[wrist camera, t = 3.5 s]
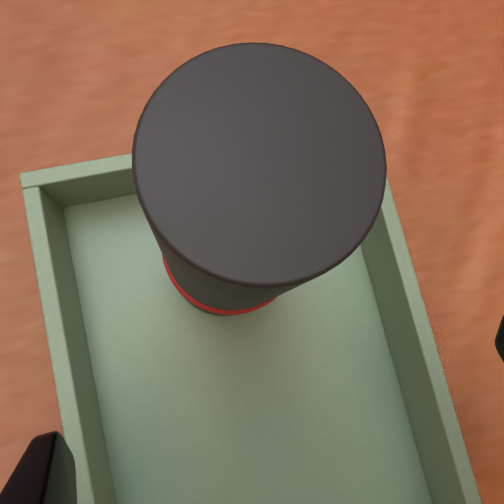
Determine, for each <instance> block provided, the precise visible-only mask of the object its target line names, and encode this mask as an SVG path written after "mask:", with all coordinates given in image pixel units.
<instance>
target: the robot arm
mask: <svg viewBox="0 0 504 504" xmlns="http://www.w3.org/2000/svg"><path fill="white" fill-rule="evenodd" d="M495 346H496V349H497V351H498V353H499V355H500V357H501V358H502V360H503V362H504V316H503V317H502V320H501V323H500V326H499V329H498V332H497V335H496V338H495ZM0 504H77V485H76V466H75V460H74V456H73V454H72V452H71V450H70V449H69V447H68V445H67V443H66V442H65V440H64V438H63V437H62V435H61V434H60V432H58V431H53V432H49V433H45V434H42V435H38V436H36V437H35V438H34V439H33V440H32V441H31V442H30V444H29V446H28V447H27V449H26V451H25V453H24V454H23V456H22V458H21V459H20V461H19V463H18V465H17V466H16V468H15V470H14V471H13V473H12V475H11V476H10V478H9V480H8V482H7V483H6V485H5V487H4V488H3V490H2V492H1V494H0Z"/></svg>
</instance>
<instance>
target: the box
mask: <svg viewBox="0 0 504 504" xmlns="http://www.w3.org/2000/svg"><path fill="white" fill-rule="evenodd" d="M19 177H20V183H21V188H22V189H23V190H22V194H23V200H24V206H25V212H26V218H27V224H28V229H29V235H30V241H31V247H32V253H33V259H34V264H35V270H36V276H37V282H38V288H39V294H40V299H41V305H42V311H43V317H44V323H45V329H46V334H47V340H48V346H49V352H50V358H51V364H52V369H53V375H54V381H55V387H56V393H57V399H58V404H59V410H60V416H61V422H62V428H63V433H64V439H65V442H66V443H67V445H68V447H69V449H70V450H71V452H72V454H73V456H74V460H75V466H76V485H77V504H482V502H481V498H480V495H479V491H478V488H477V485H476V481H475V478H474V474H473V471H472V467H471V464H470V461H469V457H468V454H467V450H466V447H465V443H464V440H463V436H462V433H461V430H460V426H459V423H458V419H457V416H456V412H455V409H454V406H453V402H452V399H451V395H450V392H449V388H448V385H447V382H446V378H445V375H444V371H443V368H442V364H441V361H440V357H439V354H438V351H437V347H436V344H435V340H434V337H433V333H432V330H431V327H430V323H429V320H428V316H427V313H426V309H425V306H424V303H423V299H422V296H421V292H420V289H419V285H418V282H417V278H416V275H415V272H414V268H413V265H412V261H411V258H410V254H409V251H408V248H407V244H406V241H405V237H404V234H403V230H402V227H401V223H400V220H399V217H398V213H397V210H396V206H395V203H394V199H393V196H392V193H391V189H390V186H389V182H388V179H387V175H386V187H385V192H384V198H383V202H382V205H381V208H380V211H379V214H378V216H377V218H376V220H375V222H374V225H373V227H372V229H371V230H370V232H369V233H368V235H367V236H366V238H365V239H364V241H363V242H362V243H361V244H360V245H359V247H358V248H357V249H356V250H355V251H354V252H353V253H352V254H351V255H350V256H349V257H348V258H347V259H345V260H344V261H343V262H342V263H341V264H339V265H338V266H336V267H335V268H333V269H332V270H330V271H328V272H327V273H325V274H323V275H321V276H319V277H317V278H315V279H313V280H310V281H308V282H306V283H304V284H302V285H300V286H298V287H296V288H294V289H292V290H290V291H287V292H285V293H283V294H281V295H279V296H278V297H277V298H275V299H274V300H273V301H272V302H270V303H268V304H267V305H265V306H263V307H261V308H259V309H257V310H254V311H251V312H248V313H244V314H238V315H231V316H218V315H212V314H208V313H206V312H203V311H201V310H199V309H197V308H196V307H194V306H193V305H191V304H190V303H189V302H188V301H187V300H186V299H185V298H184V297H183V295H182V294H181V293H180V292H179V291H178V290H177V288H176V287H175V286H174V284H173V283H172V281H171V279H170V278H169V276H168V273H167V271H166V269H165V266H164V262H163V258H162V252H161V250H160V248H159V246H158V243H157V241H156V239H155V237H154V234H153V232H152V230H151V228H150V225H149V223H148V221H147V219H146V216H145V214H144V212H143V210H142V207H141V205H140V203H139V200H138V197H137V193H136V190H135V186H134V180H133V173H132V153H130V154H124V155H119V156H113V157H108V158H102V159H96V160H91V161H85V162H80V163H74V164H68V165H63V166H57V167H52V168H46V169H41V170H35V171H29V172H24V173H20V174H19Z"/></svg>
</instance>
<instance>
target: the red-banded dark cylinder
mask: <svg viewBox="0 0 504 504" xmlns="http://www.w3.org/2000/svg"><path fill="white" fill-rule="evenodd" d="M386 170H387V166H386V156H385V149H384V144H383V140H382V136H381V133H380V130H379V128H378V125H377V122H376V120H375V118H374V116H373V114H372V112H371V110H370V108H369V107H368V105H367V104H366V102H365V101H364V99H363V98H362V96H361V95H360V94H359V93H358V92H357V90H356V89H355V88H354V87H353V86H352V85H351V83H350V82H348V81H347V80H346V79H345V78H344V77H343V76H342V75H341V74H340V73H338V72H337V71H336V70H334V69H333V68H331V67H330V66H329V65H327V64H326V63H324V62H322V61H320V60H319V59H317V58H315V57H313V56H311V55H309V54H306V53H304V52H301V51H299V50H296V49H293V48H289V47H285V46H282V45H275V44H269V43H239V44H232V45H227V46H222V47H218V48H215V49H212V50H210V51H207V52H204V53H202V54H200V55H198V56H196V57H194V58H192V59H190V60H188V61H187V62H186V63H184V64H183V65H181V66H180V67H178V68H177V69H176V70H174V71H173V72H172V73H171V74H170V75H169V76H168V77H167V78H166V79H165V80H164V81H163V82H162V83H161V84H160V85H159V87H158V88H157V89H156V90H155V91H154V93H153V94H152V96H151V97H150V99H149V100H148V102H147V104H146V105H145V107H144V110H143V112H142V114H141V116H140V118H139V121H138V124H137V128H136V131H135V134H134V140H133V147H132V173H133V180H134V186H135V190H136V193H137V197H138V200H139V203H140V205H141V207H142V210H143V212H144V214H145V216H146V219H147V221H148V223H149V225H150V228H151V230H152V232H153V234H154V237H155V239H156V241H157V243H158V246H159V248H160V250H161V252H162V258H163V262H164V266H165V269H166V271H167V273H168V276H169V278H170V279H171V281H172V283H173V284H174V286H175V287H176V288H177V290H178V291H179V292H180V293H181V294H182V295H183V297H184V298H185V299H186V300H187V301H188V302H189V303H190V304H191V305H193V306H194V307H196V308H197V309H199V310H201V311H203V312H206V313H208V314H212V315H218V316H231V315H238V314H244V313H248V312H251V311H254V310H257V309H259V308H261V307H263V306H265V305H267V304H268V303H270V302H272V301H273V300H274V299H275V298H277V297H278V296H279V295H281V294H283V293H285V292H287V291H290V290H292V289H294V288H296V287H298V286H300V285H302V284H304V283H306V282H308V281H310V280H313V279H315V278H317V277H319V276H321V275H323V274H325V273H327V272H328V271H330V270H332V269H333V268H335V267H336V266H338V265H339V264H341V263H342V262H343V261H344V260H345V259H347V258H348V257H349V256H350V255H351V254H352V253H353V252H354V251H355V250H356V249H357V248H358V247H359V245H360V244H361V243H362V242H363V241H364V239H365V238H366V236H367V235H368V233H369V232H370V230H371V229H372V227H373V225H374V222H375V220H376V218H377V216H378V214H379V211H380V208H381V205H382V202H383V198H384V192H385V187H386Z"/></svg>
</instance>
